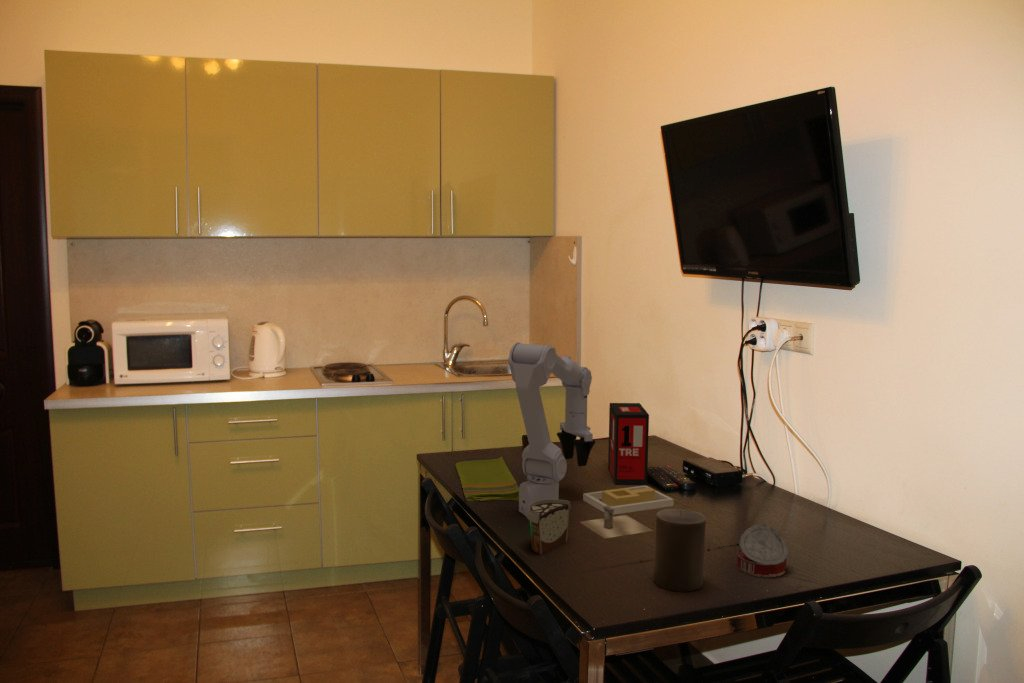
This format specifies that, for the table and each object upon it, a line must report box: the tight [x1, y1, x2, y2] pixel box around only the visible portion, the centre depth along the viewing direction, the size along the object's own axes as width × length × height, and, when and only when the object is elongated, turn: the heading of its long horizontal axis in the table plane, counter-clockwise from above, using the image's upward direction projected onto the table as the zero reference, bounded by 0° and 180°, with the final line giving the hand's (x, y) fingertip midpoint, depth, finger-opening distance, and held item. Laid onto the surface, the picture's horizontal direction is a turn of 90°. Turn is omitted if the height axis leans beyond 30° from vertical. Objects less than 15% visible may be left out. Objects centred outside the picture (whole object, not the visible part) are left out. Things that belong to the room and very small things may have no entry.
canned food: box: [736, 523, 789, 575], centre depth 173 cm, size 11×10×10 cm
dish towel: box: [454, 456, 520, 502], centre depth 234 cm, size 15×36×3 cm, turn 9°
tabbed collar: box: [601, 487, 656, 507], centre depth 214 cm, size 13×7×3 cm, turn 114°
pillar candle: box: [653, 508, 707, 593], centre depth 166 cm, size 10×10×15 cm
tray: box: [582, 485, 675, 516], centre depth 214 cm, size 19×13×2 cm
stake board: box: [579, 505, 654, 540], centre depth 196 cm, size 13×12×6 cm
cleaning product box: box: [607, 402, 650, 486], centre depth 239 cm, size 16×9×20 cm, turn 0°
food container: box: [525, 499, 572, 555], centre depth 183 cm, size 12×6×10 cm, turn 141°
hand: (575, 462), depth 220 cm, fingers open, 7 cm apart
